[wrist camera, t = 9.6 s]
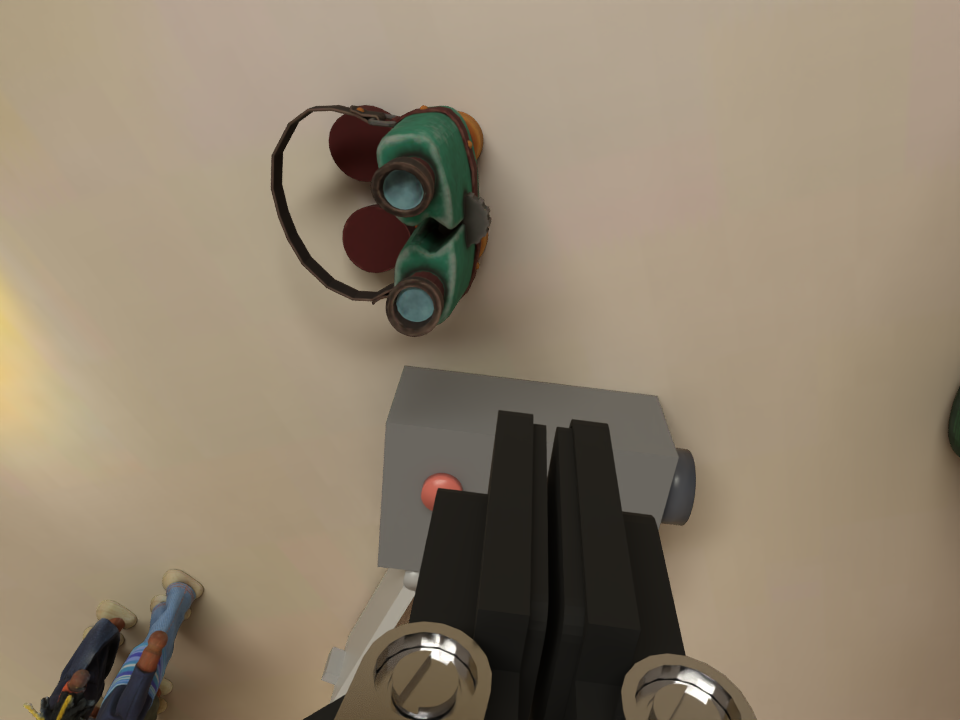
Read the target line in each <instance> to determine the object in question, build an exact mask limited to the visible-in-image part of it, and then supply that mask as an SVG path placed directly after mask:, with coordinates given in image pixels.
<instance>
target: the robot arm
mask: <svg viewBox="0 0 960 720" xmlns="http://www.w3.org/2000/svg"><path fill="white" fill-rule="evenodd" d="M533 422H534V416H533V414H528V413H520V412H512V411H504V410H498V416H497V424H496V432H495V439H494V447H493V455H492V462H491V470H490V478H489V486H488V493H487V494H483V493H476V492H468V491H460V490H452V489H444V488H438V489H437V493H436V497H435V502H434V506H433V511H432V516H431V521H430V525H429V530H428V535H427V539H426V544H425V549H424V554H423V558H422V563H421V568H420V573H419V577H418V582H417V587H416V591H415V596H414V601H413V606H412V610H411V615H410V620H409V623H408V624H404V625H401V626H399V627H396V628H394V629H391V630H389V631H387V632H386V633H384V634H383V635H382V636H381V637H379V638H378V639H377V640H375V641H374V642H373V643H372V645H371V646H370V648H369V649H368V651H367V652H366V653H365V655H364V656H363V658H362V660H361V662H360V665H359V667H358V669H357V671H356V673H355V675H354V678H353V680H352V682H351V684H350V686H349V688H348V691H347V693H346V694H345V695H343V696H342V697H340V698H338V699H337V700H335V701H333V702H332V703H330V704H328V705H327V706H325V707H323V708H322V709H320V710H318V711H317V712H315V713H313V714H312V715H310V716H308V717H307V718H305V719H303V720H757V719H756V716H755V714H754V712H753V710H752V708H751V706H750V705H749V703H748V702H747V700H746V698H745V697H744V695H743V694H742V692H741V691H740V690H739V689H738V688H737V687H736V686H735V685H734V684H733V683H732V682H731V681H730V680H729V679H728V678H727V677H726V676H725V675H724V674H722V673H721V672H719V671H717V670H716V669H714V668H713V667H711V666H710V665H708V664H706V663H704V662H701V661H699V660H696V659H693V658H691V657H688V656H686V655H685V651H684V646H683V641H682V637H681V632H680V628H679V623H678V619H677V614H676V609H675V605H674V600H673V596H672V591H671V587H670V582H669V577H668V573H667V568H666V564H665V559H664V555H663V550H662V545H661V541H660V536H659V532H658V527H657V524H656V521H655V518H654V517H653V516H652V515H648V514H640V513H632V512H624V511H622V507H621V500H620V494H619V488H618V481H617V475H616V468H615V462H614V456H613V449H612V443H611V437H610V430H609V426H608V424H607V423H600V422H592V421H584V420H576V419H572V420H571V422H570V425H569V428H565V427H557V428H556V431H555V437H554V442H553V448H552V454H551V459H550V465H549V471H548V476H547V430H546V425H541V424H533Z"/></svg>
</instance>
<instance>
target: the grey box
mask: <svg viewBox="0 0 960 720" xmlns="http://www.w3.org/2000/svg"><path fill="white" fill-rule="evenodd" d="M498 410H504V411H512V412H520V413H528V414H533V416H534V422H533V424H541V425H546V430H547V476H548V471H549V465H550V459H551V454H552V448H553V442H554V437H555V431H556V428H557V427H565V428H569V425H570V422H571V420H572V419H576V420H584V421H592V422H600V423H607V424H608V426H609V430H610V437H611V443H612V449H613V456H614V462H615V468H616V475H617V481H618V488H619V494H620V500H621V507H622V511H624V512H632V513H640V514H648V515H652V516H653V517H654V518H655V521H656V524H657V527H658V530H659V527H660V523H664V524H673V525H684V524H685V523H686V522H687V520H688V519H689V516H690V514H691V511H692V507H693V502H694V496H695V486H696V473H695V464H694V459H693V456H692V454H691V452H690V451H689V450H687V449H679V448H675V445H674V442H673V440H672V437H671V434H670V431H669V428H668V425H667V423H666V420H665V417H664V414H663V411H662V408H661V405H660V403H659V400H658V397H657V396H653V395H644V394H636V393H628V392H619V391H611V390H602V389H594V388H586V387H577V386H569V385H561V384H552V383H544V382H536V381H527V380H519V379H511V378H502V377H494V376H486V375H477V374H469V373H461V372H452V371H444V370H436V369H427V368H419V367H411V366H404V369H403V372H402V375H401V378H400V381H399V384H398V387H397V390H396V393H395V397H394V400H393V403H392V406H391V409H390V412H389V415H388V418H387V421H386V432H385V449H384V467H383V484H382V502H381V519H380V536H379V554H378V567H384V568H393V569H401V570H409V571H418V572H420V568H421V563H422V558H423V554H424V549H425V544H426V539H427V535H428V530H429V525H430V521H431V516H432V511H433V506H434V502H435V497H436V493H437V489H438V488H444V489H452V490H460V491H468V492H476V493H483V494H487V493H488V486H489V478H490V470H491V462H492V455H493V447H494V439H495V432H496V424H497V416H498Z"/></svg>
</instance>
